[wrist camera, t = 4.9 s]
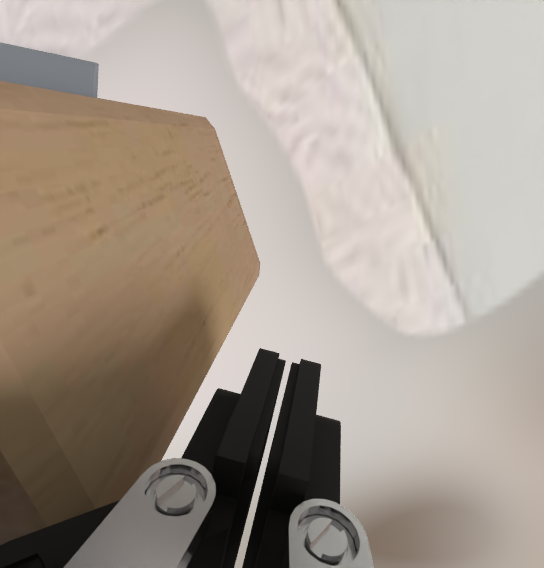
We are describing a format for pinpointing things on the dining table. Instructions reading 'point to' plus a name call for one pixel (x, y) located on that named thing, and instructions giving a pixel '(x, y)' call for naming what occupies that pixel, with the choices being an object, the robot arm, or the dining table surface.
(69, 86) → the mat
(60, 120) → the block
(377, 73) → the dining table surface
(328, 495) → the robot arm
